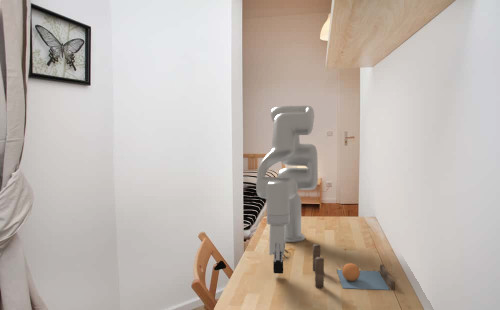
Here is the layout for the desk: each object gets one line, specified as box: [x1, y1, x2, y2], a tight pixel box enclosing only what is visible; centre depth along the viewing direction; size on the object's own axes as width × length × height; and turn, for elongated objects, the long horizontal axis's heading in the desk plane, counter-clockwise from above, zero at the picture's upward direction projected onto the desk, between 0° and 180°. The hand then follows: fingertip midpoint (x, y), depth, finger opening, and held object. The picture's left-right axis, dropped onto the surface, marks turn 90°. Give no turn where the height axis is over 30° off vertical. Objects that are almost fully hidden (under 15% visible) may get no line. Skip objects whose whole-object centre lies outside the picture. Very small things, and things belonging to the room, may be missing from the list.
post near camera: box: [314, 256, 325, 289], centre depth 113 cm, size 3×3×9 cm
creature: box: [273, 249, 291, 259], centre depth 140 cm, size 8×5×8 cm
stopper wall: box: [379, 264, 396, 291], centre depth 117 cm, size 14×1×2 cm, turn 174°
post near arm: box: [312, 243, 321, 273], centre depth 126 cm, size 3×3×9 cm
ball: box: [341, 262, 361, 281], centre depth 117 cm, size 6×6×6 cm
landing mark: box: [336, 269, 391, 291], centre depth 118 cm, size 14×14×1 cm
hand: (278, 272), depth 121 cm, fingers closed
